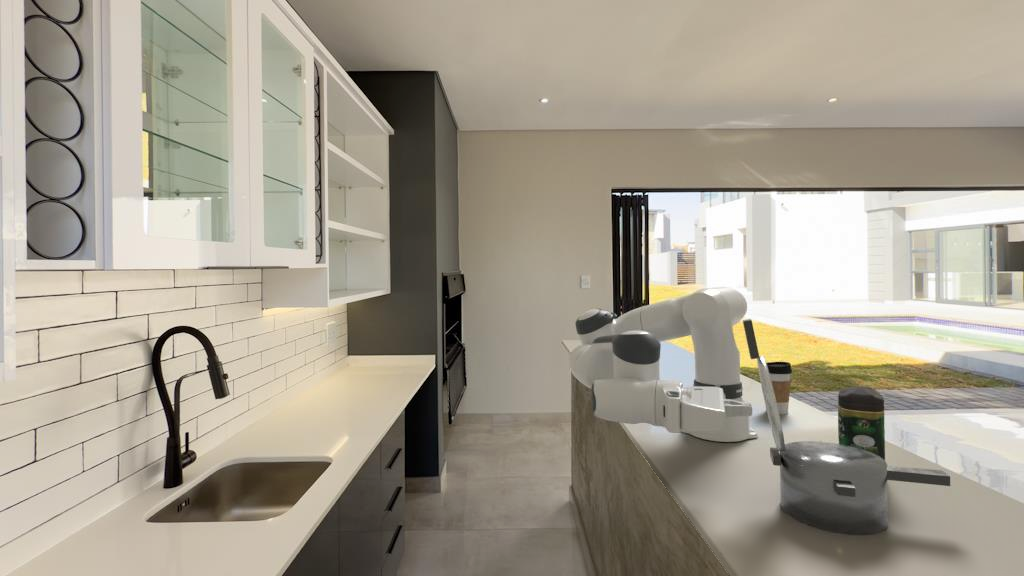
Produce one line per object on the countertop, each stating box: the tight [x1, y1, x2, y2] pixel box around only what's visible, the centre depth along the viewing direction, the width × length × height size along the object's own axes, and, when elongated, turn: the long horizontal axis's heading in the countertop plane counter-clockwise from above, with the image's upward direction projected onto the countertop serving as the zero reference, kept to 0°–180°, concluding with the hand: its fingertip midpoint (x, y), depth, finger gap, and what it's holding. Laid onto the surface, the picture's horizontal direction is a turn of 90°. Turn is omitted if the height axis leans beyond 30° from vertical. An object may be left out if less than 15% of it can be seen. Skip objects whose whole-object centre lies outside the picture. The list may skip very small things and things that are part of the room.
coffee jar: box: [837, 385, 886, 461], centre depth 104 cm, size 10×8×19 cm
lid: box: [742, 318, 785, 452], centre depth 93 cm, size 17×24×2 cm
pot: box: [769, 440, 951, 536], centre depth 89 cm, size 22×26×10 cm
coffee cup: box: [765, 361, 793, 415], centre depth 154 cm, size 8×8×15 cm
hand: (751, 409), depth 93 cm, fingers closed
